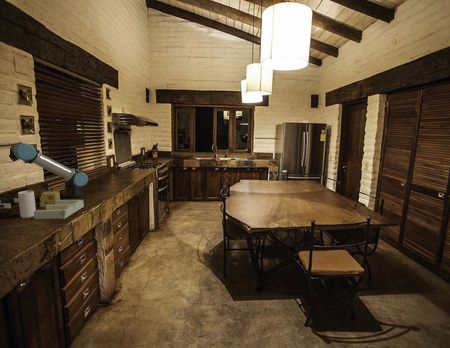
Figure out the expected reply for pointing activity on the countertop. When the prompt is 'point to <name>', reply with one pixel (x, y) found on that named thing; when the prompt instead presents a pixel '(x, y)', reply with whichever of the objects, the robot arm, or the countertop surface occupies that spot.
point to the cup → (26, 203)
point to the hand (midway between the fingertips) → (17, 202)
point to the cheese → (49, 198)
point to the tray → (59, 209)
